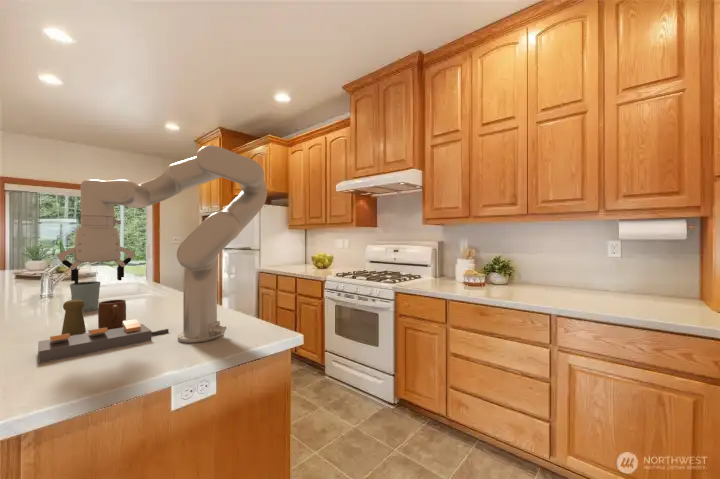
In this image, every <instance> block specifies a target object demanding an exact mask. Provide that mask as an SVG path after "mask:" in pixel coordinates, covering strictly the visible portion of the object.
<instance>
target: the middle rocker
mask: <svg viewBox="0 0 720 479" xmlns="http://www.w3.org/2000/svg"><path fill="white" fill-rule="evenodd" d="M87 332H88V333H89V334H91V336H97V335H102V334H105V332H108V327H107V328H100V329H99V328H95V329H89V330H87Z"/></svg>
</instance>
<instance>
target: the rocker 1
mask: <svg viewBox="0 0 720 479" xmlns="http://www.w3.org/2000/svg"><path fill="white" fill-rule="evenodd" d="M68 338H70V334H63V335H61V334H57V335H52V336H51V335H50V336H49V340H50V341H52V343H56V342H62V341H68Z"/></svg>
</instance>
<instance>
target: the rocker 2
mask: <svg viewBox="0 0 720 479" xmlns="http://www.w3.org/2000/svg"><path fill="white" fill-rule="evenodd" d="M122 325H123V327H124V329H125V331H126V333H127V332H133V331H138V330H141V326H140V322H139V320H138V319H137V318H134V319H128V320H127V319H126V321H123V322H122Z"/></svg>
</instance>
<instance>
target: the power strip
mask: <svg viewBox="0 0 720 479" xmlns="http://www.w3.org/2000/svg"><path fill="white" fill-rule="evenodd" d="M139 324H140V323H139ZM140 326H141V330H138V331H133V332H127V333H126V331H125V329H124V327H122V328H116V329H110V330H108V332H105V334H102V335H97V336H91V334H89V332H88V333H86V332H85V333H82V334H78V335H72V336H70V338H68V341H62V342H56V343H52V341H50V339H46V340H40V341H38V342H37V343H38V344H37V345H38V351H37V352H38V363H39V364H43V363H48V362H53V361H57V360H63V359H66V358H71V357H77V356H82V355H87V354H92V353H96V352H97V353H98V352H101V351H107V350H110V349H111V350H112V349H115V348H116V349H117V348H121V347H125V346H132V345H135V344H136V345H137V344H141V343H145V342H150V341H151V342H152V336H157V335H162V334H168V333H169V328H165V329H160V330H155V331H152V330H151V329H150V328H148V326H146V325H144V324H143V323H141V324H140Z"/></svg>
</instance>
